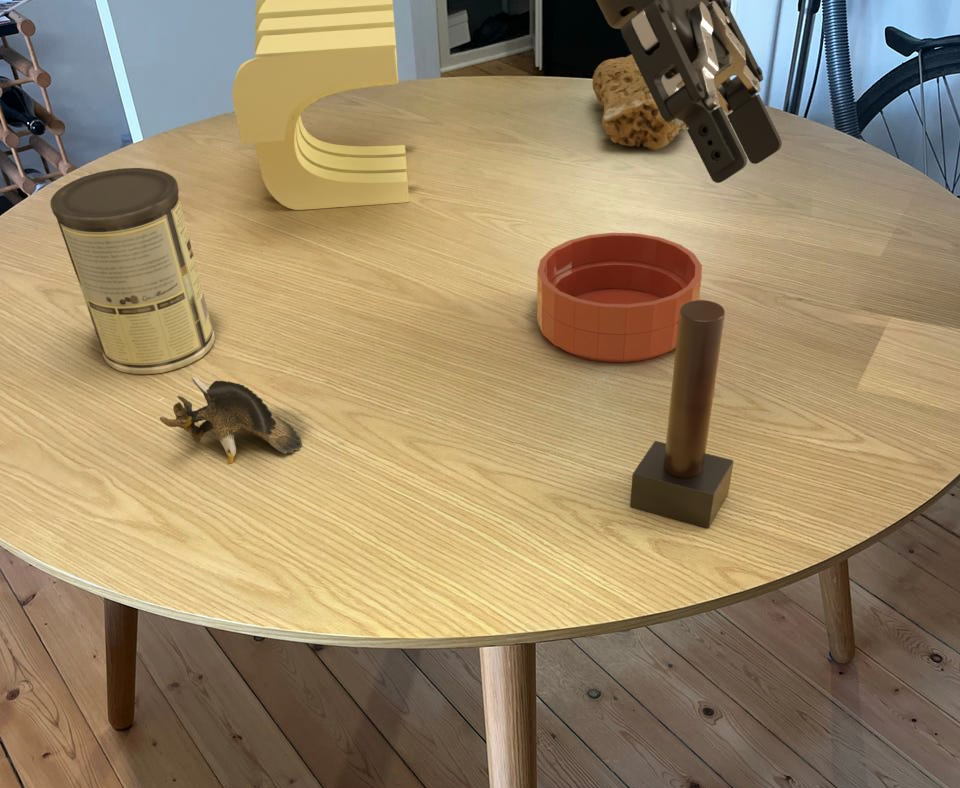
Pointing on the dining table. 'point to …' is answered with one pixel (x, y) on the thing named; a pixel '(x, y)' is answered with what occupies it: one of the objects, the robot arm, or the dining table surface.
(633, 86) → the sponge
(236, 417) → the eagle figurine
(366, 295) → the dining table surface
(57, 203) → the coffee can
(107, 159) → the dining table surface
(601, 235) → the bowl
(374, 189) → the slatted curved stool
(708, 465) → the hammer
